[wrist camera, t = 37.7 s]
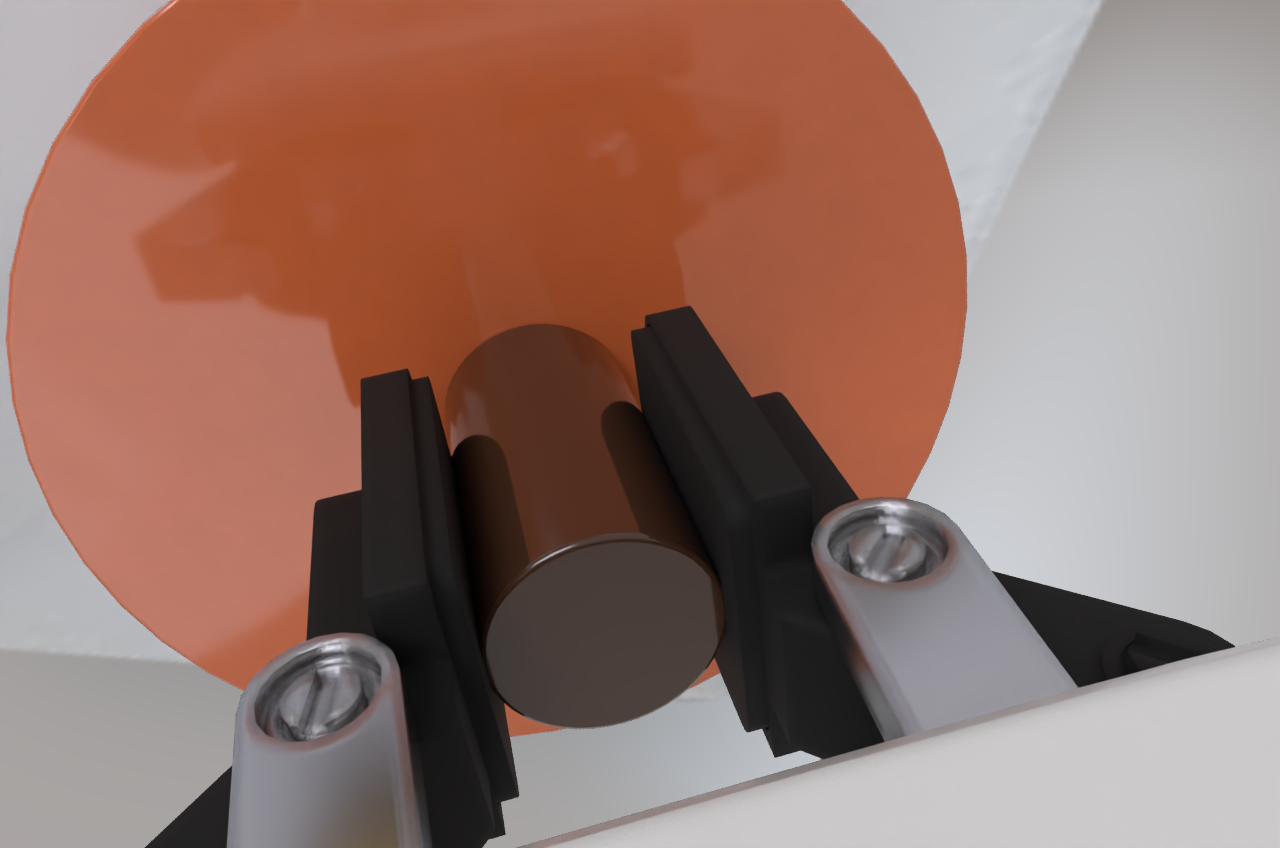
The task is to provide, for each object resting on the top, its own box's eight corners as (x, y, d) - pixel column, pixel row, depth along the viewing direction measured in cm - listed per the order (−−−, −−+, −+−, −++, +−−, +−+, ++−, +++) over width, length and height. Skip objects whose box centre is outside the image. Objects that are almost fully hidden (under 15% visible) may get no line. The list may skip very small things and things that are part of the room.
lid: (228, 769, 17) (178, 1141, 12) (-186, -28, 10) (-637, 115, 6) (920, 586, 18) (1113, 853, 14) (948, -207, 12) (1333, -212, 7)
